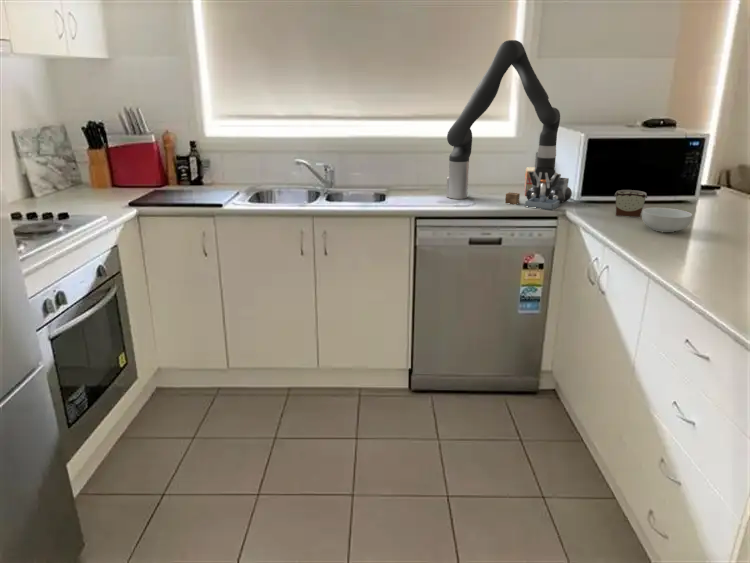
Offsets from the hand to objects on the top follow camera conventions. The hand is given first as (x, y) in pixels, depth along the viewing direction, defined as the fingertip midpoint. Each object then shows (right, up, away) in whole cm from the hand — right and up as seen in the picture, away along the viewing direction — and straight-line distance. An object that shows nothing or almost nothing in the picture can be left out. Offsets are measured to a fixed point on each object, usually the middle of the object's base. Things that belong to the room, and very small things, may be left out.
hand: (543, 195), depth 254 cm
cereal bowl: (+34, -19, -38) cm, 54 cm away
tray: (0, -5, +2) cm, 5 cm away
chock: (-11, -2, +9) cm, 15 cm away
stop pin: (0, -3, +1) cm, 3 cm away
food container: (+31, -10, -15) cm, 36 cm away
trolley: (+5, -1, +11) cm, 12 cm away
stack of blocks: (+4, +6, +33) cm, 34 cm away
